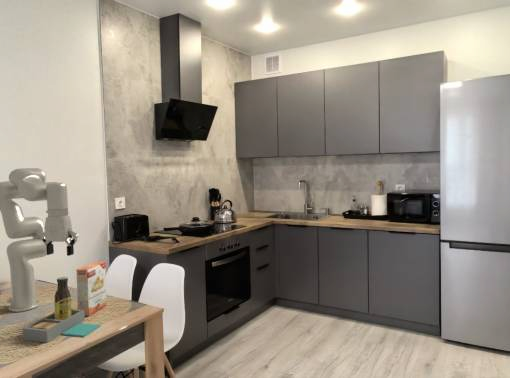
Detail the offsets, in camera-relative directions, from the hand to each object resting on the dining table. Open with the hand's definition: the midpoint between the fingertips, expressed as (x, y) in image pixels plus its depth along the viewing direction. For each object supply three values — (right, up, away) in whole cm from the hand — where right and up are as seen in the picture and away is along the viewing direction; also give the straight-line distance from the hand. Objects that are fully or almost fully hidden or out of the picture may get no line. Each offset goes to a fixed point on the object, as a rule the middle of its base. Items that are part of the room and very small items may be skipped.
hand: (60, 254), depth 161 cm
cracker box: (+6, -29, +18) cm, 34 cm away
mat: (+10, -30, -4) cm, 32 cm away
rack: (-1, -30, -2) cm, 30 cm away
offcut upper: (-2, -28, -8) cm, 29 cm away
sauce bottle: (0, -30, +2) cm, 30 cm away
